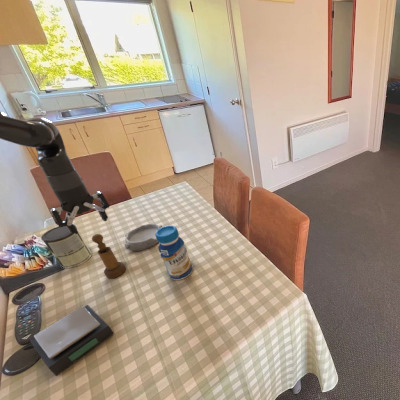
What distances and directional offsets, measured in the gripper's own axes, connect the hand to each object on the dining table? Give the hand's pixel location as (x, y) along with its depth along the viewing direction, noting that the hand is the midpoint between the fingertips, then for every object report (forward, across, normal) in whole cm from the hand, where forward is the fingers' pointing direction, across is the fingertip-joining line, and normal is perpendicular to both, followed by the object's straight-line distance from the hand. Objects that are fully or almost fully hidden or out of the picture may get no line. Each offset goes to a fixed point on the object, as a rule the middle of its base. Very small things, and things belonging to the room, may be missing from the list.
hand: (91, 226), depth 91 cm
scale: (+22, +20, +20) cm, 36 cm away
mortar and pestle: (+22, 0, 0) cm, 22 cm away
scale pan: (+17, +20, +20) cm, 33 cm away
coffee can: (+22, +5, -22) cm, 31 cm away
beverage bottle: (+22, -13, +22) cm, 34 cm away
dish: (+22, -16, -9) cm, 29 cm away
